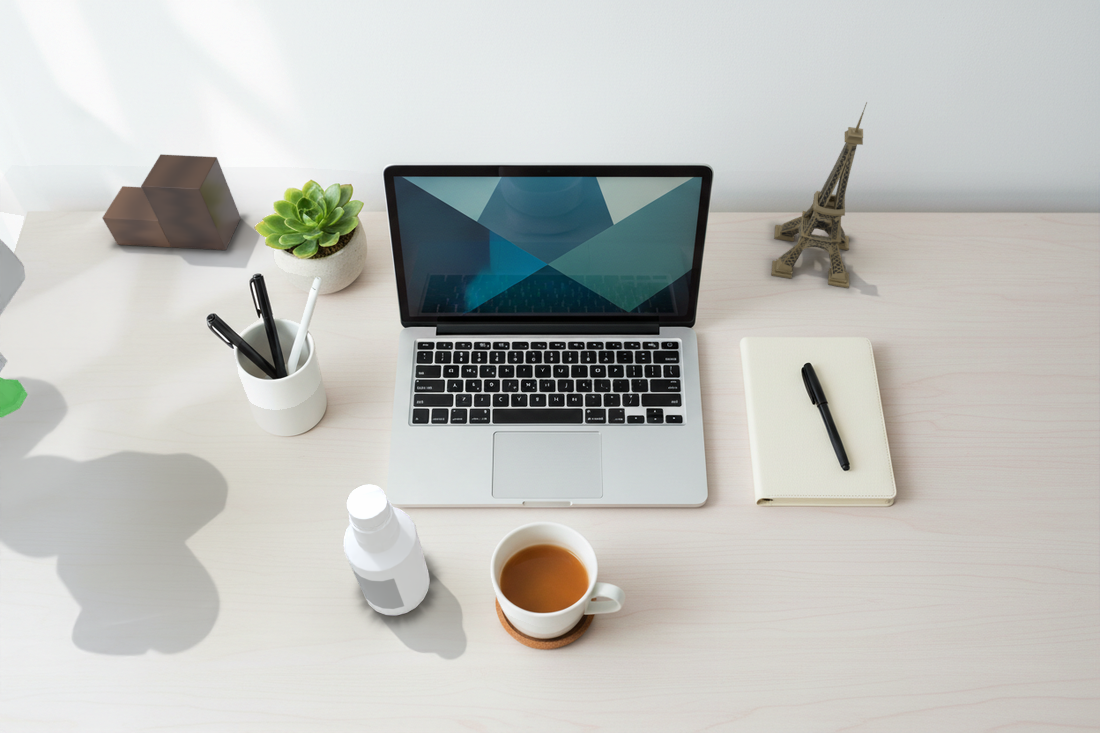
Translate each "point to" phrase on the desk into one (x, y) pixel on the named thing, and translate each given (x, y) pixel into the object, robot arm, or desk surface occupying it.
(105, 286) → the desk surface
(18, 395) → the game piece
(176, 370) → the desk surface
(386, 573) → the white bottle
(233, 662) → the desk surface
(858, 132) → the eiffel tower
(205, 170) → the stepped wooden block
